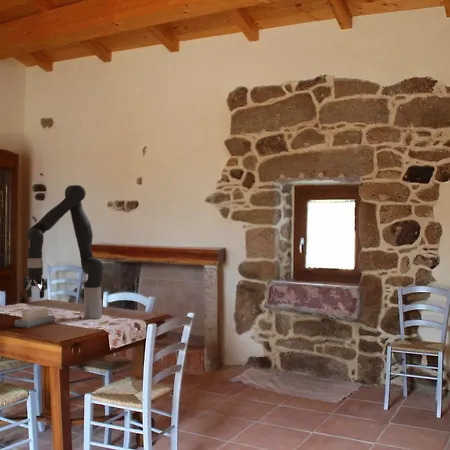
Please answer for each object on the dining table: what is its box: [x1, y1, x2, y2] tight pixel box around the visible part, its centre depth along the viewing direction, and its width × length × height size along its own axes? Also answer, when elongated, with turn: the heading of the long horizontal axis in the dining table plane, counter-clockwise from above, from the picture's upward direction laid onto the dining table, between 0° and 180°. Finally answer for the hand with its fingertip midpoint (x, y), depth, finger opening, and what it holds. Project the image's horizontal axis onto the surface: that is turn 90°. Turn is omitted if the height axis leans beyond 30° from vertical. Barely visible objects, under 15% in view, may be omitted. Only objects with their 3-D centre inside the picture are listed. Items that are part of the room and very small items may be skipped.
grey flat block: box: [14, 314, 56, 329], centre depth 278 cm, size 19×9×3 cm, turn 155°
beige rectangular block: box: [21, 308, 49, 321], centre depth 278 cm, size 14×4×6 cm, turn 152°
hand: (35, 297), depth 278 cm, fingers open, 8 cm apart
